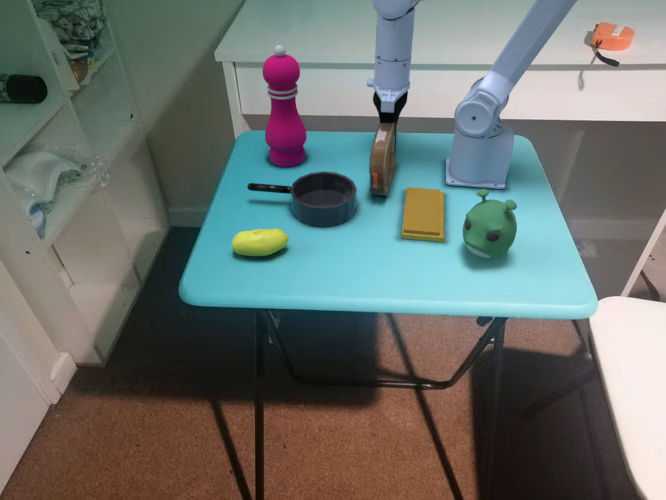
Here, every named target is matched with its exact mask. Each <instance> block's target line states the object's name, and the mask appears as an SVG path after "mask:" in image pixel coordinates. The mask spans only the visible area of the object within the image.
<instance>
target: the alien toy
mask: <svg viewBox="0 0 666 500" xmlns="http://www.w3.org/2000/svg"><path fill="white" fill-rule="evenodd" d="M489 194H490V191H489V190H488V189H486V188H481V189H479V190H478V191H477V192H476V195H477V196H478V197H480V198H481V201H480V202H478V203H476V204H475V205H473V207H472V208H471V209H470V210H469V211H468V212H466V214H465V219H464V222H463V225H462V238H463V242H464V245H465V247H466V248H467V250H468V251H469V252H470V254H472V255H474V257H477V258H479V259H482V260H493V259H497V258H499V257H502V256H503V255H505V254H506V253H507V252H508V251H509V250H510V248H511V247H512V245H513V244H514V242H515V239H516V235H517V231H518V224H517V223H518V222H517V218H516V216H515V212H514V211H515V210H516V209H518V205H517V202H515V201H514V200H512V199H507V200H506V201H505V202H503V201H501V200H498V199H486V197H487V196H488V195H489Z"/></svg>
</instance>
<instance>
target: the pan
mask: <svg viewBox="0 0 666 500" xmlns="http://www.w3.org/2000/svg"><path fill="white" fill-rule="evenodd" d="M290 187H291V189H290V207H291V212H292V214H293V216H294V217H295V218H296V219H297V220H298V221H300V222H301V223H303V224H306V225H309V226H311V227H317V228H318V227H319V228H329V227H334V226H339V225H342V224H344V223H346V222H348V221H349V220H350V219H351V218H352V217H353V216H354V215H355V212H356V209H357V190H358V189H357V186H356V184H355V182H354V181H353V180H352V179H351V178H350V177H348V176H346V175H345V174H341V173H338V172H335V171H316V172H310V173H307V174H304V175H302V176H300V177H299V178H297V179H296V180H295V181H294V182H292V185H291V186H290Z"/></svg>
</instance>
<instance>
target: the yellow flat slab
mask: <svg viewBox="0 0 666 500" xmlns="http://www.w3.org/2000/svg"><path fill="white" fill-rule="evenodd" d="M403 207H404V208H403V216H402V227H401V239H403V240H404V239H405V240H415V241H427V242H435V243H437V242H438V243H443V242H444V233H445V231H444V229H445V228H444V225H445V224H444V191H441V189H436V188H435V189H434V188H423V187H410V186H408V187H407V188H405V194H404V206H403Z"/></svg>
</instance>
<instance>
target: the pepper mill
mask: <svg viewBox="0 0 666 500" xmlns="http://www.w3.org/2000/svg"><path fill="white" fill-rule="evenodd" d="M273 53H274V54H272V55H270V56H269V57H268V58H266V59H265V61H264V62H263V65H262V69H261V70H262V78H263V80H264V82H266V84H267V85H266V89H267V93H266V94H267V96H268V97H269V98H270V114H269V118H268V120H267V123H266V126H265V130H264V141H265V143H266V145H267V146H268V147H269V150H268V154H269V160H270V163H272V164H273V165H275V166H278V167H283V168H290V167H296V166H298V165H300V164H301V163H303V162H304V160H305V157H306V156H305V152H306V151H305V147H304V145H305V143H306V141H307V138H308V136H307V129H306V126H305V124H304V122H303V120H302V118H301V116H300V113H299V112H298V111H299V110H298V107H297V101H296V97H297V96H298V94H299V89H298V88H299V86H298V84H297V83H298V81H299V79H300V78H301V77H300V76H301V69H300V65H299V63H298V61H297V60H296V59H295V58H294V57H293V56H292V55H290V54H287V53H286V48H285V46H283V45H281V44H277V45H276V46H275V47H274V49H273Z"/></svg>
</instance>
